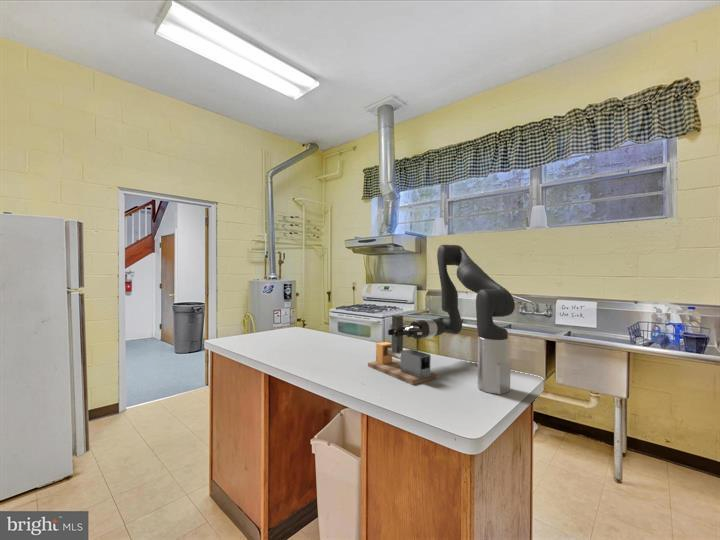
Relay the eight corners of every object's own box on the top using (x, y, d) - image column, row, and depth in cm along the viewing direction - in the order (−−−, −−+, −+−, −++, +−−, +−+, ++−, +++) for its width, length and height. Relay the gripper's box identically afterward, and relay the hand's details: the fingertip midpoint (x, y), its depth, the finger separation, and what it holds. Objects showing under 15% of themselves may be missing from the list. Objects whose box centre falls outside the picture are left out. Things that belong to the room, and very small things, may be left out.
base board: (436, 378, 117) (436, 374, 117) (412, 385, 110) (412, 380, 110) (390, 361, 139) (390, 358, 139) (367, 366, 132) (368, 362, 132)
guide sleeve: (430, 376, 115) (430, 354, 115) (419, 378, 112) (420, 356, 112) (410, 369, 123) (410, 349, 123) (400, 371, 120) (400, 350, 121)
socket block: (392, 362, 132) (392, 343, 133) (382, 364, 130) (382, 345, 130) (385, 360, 136) (386, 341, 136) (376, 361, 133) (376, 343, 133)
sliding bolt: (422, 364, 117) (422, 319, 117) (416, 366, 115) (416, 319, 115) (391, 354, 131) (391, 313, 131) (385, 355, 130) (385, 314, 130)
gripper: (411, 317, 140) (380, 320, 130) (436, 322, 128) (404, 325, 119) (411, 335, 140) (380, 339, 130) (436, 340, 128) (404, 346, 119)
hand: (391, 333), depth 124 cm, fingers closed on sliding bolt, 3 cm apart
